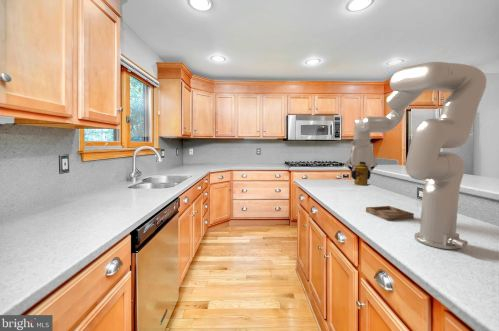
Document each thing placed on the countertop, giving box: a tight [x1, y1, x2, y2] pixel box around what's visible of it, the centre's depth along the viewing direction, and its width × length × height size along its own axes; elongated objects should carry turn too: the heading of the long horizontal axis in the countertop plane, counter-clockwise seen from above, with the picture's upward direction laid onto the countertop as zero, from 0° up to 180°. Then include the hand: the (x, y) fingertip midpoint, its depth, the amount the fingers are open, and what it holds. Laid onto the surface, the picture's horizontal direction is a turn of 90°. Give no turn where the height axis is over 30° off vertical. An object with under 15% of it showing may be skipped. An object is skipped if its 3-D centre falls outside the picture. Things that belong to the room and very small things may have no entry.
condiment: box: [352, 162, 372, 187], centre depth 116 cm, size 7×8×12 cm
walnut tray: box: [365, 205, 415, 221], centre depth 111 cm, size 14×14×2 cm
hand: (360, 178), depth 117 cm, fingers closed on condiment, 6 cm apart
